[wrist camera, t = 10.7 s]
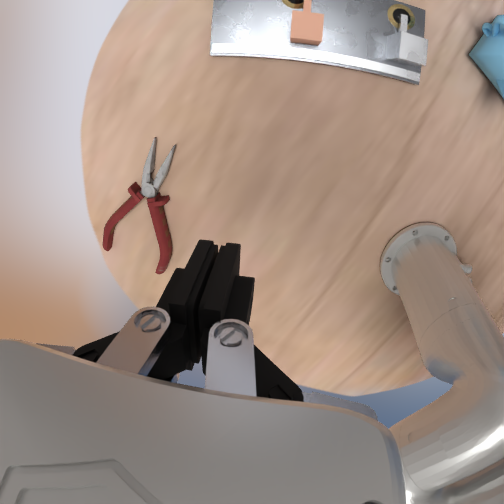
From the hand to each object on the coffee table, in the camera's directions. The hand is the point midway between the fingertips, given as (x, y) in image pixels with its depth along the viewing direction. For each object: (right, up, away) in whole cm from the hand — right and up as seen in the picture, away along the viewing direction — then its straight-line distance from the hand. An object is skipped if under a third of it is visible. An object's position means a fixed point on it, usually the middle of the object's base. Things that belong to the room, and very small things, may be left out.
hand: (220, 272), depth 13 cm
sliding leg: (+7, +26, +13) cm, 30 cm away
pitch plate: (+9, +26, +14) cm, 31 cm away
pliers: (-12, +6, +31) cm, 34 cm away
